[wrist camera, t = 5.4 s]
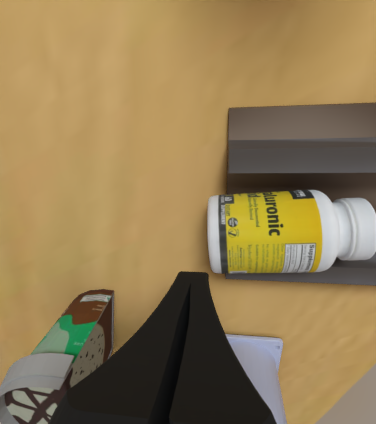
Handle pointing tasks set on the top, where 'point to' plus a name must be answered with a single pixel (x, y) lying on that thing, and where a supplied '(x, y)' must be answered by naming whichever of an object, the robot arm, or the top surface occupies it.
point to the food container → (59, 360)
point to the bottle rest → (306, 166)
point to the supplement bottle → (287, 231)
